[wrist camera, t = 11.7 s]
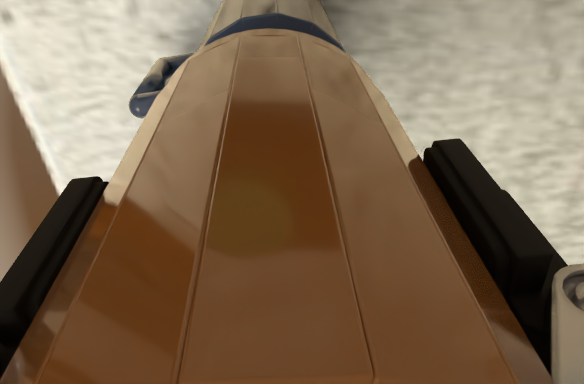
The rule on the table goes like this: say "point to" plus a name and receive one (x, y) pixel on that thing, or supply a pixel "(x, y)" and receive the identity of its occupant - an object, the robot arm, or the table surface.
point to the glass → (273, 243)
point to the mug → (233, 19)
